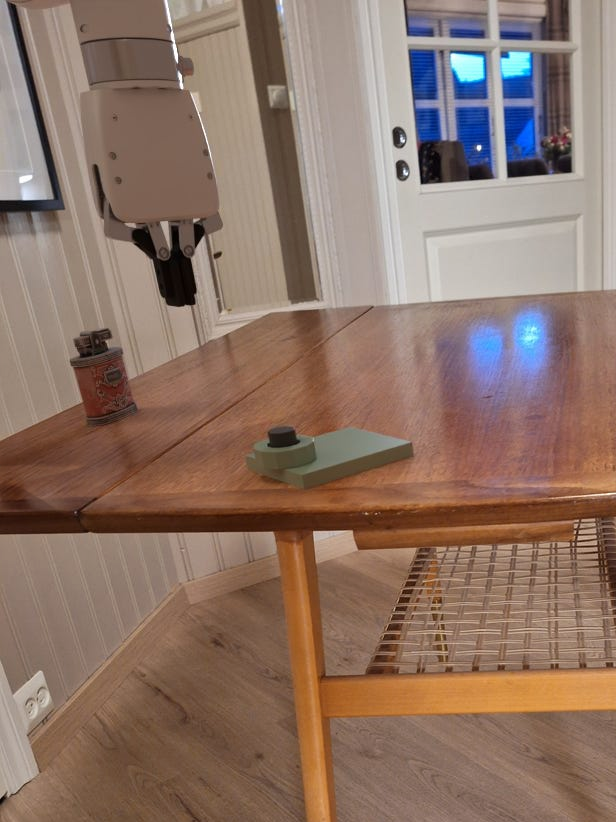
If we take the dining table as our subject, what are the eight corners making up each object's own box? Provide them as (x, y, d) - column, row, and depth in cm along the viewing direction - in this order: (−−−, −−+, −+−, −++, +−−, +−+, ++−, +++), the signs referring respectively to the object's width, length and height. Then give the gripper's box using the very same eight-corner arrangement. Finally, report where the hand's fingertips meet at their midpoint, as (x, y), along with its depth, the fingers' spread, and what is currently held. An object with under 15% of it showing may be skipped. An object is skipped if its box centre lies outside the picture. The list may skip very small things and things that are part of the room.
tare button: (279, 452, 76) (276, 434, 75) (265, 447, 77) (262, 430, 77) (302, 445, 77) (300, 428, 76) (288, 441, 79) (285, 424, 78)
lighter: (105, 425, 101) (81, 336, 97) (80, 425, 102) (55, 337, 97) (144, 408, 108) (123, 324, 103) (120, 409, 109) (98, 325, 104)
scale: (293, 494, 74) (287, 459, 72) (236, 473, 80) (229, 441, 79) (414, 456, 81) (410, 424, 80) (352, 440, 88) (348, 410, 86)
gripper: (197, 79, 79) (235, 293, 88) (26, 76, 71) (87, 313, 79) (235, 68, 74) (271, 297, 83) (56, 64, 66) (117, 319, 74)
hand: (181, 304), depth 81 cm, fingers closed
